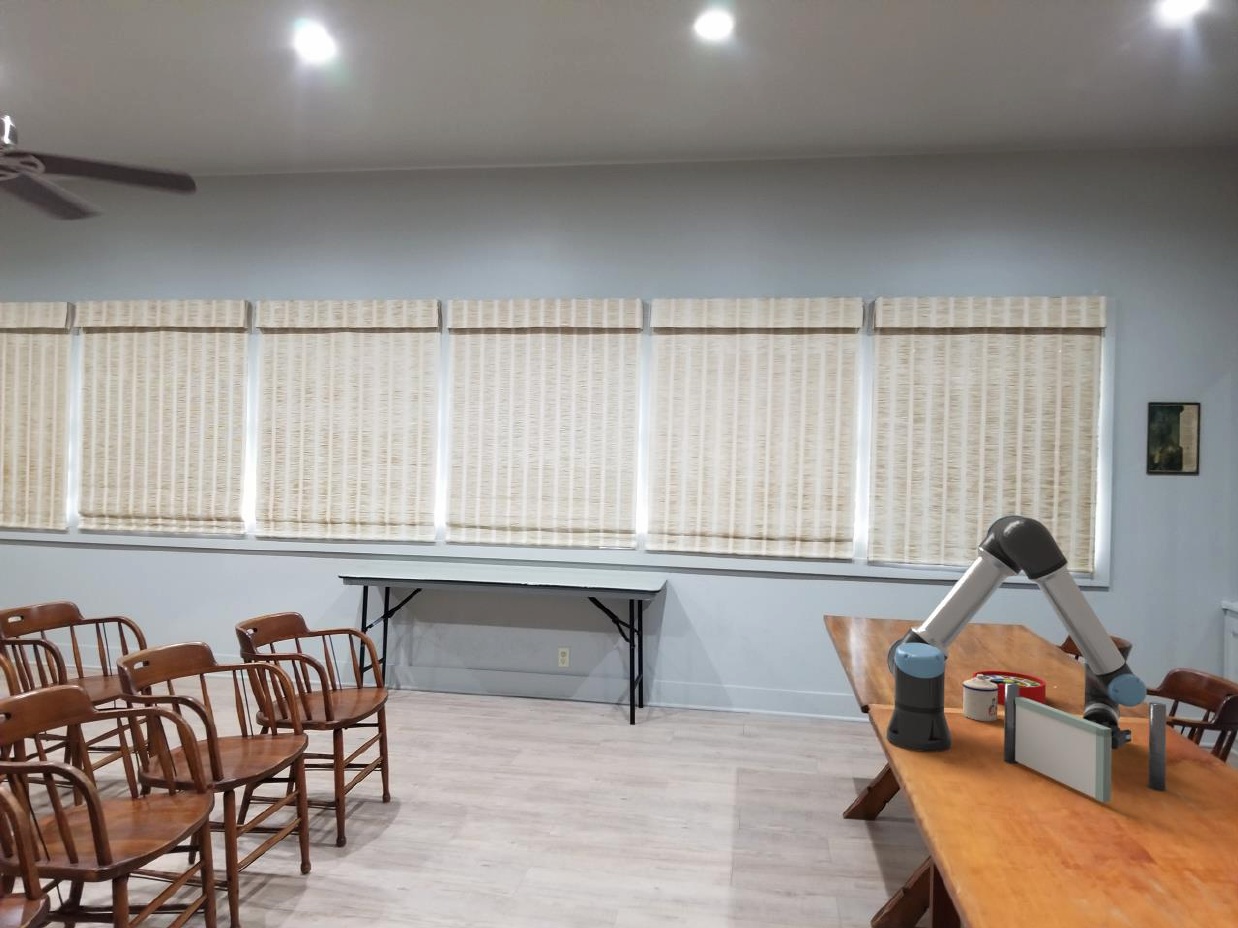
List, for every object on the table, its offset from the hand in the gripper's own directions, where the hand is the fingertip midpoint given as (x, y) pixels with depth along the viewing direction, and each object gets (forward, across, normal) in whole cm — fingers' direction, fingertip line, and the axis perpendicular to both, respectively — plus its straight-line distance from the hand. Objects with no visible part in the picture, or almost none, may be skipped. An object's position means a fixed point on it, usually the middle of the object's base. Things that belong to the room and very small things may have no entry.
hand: (1096, 749), depth 174 cm
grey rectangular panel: (+6, +7, -6) cm, 11 cm away
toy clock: (-66, +25, -8) cm, 71 cm away
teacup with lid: (-39, +29, -7) cm, 49 cm away
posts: (-4, +3, -7) cm, 9 cm away
